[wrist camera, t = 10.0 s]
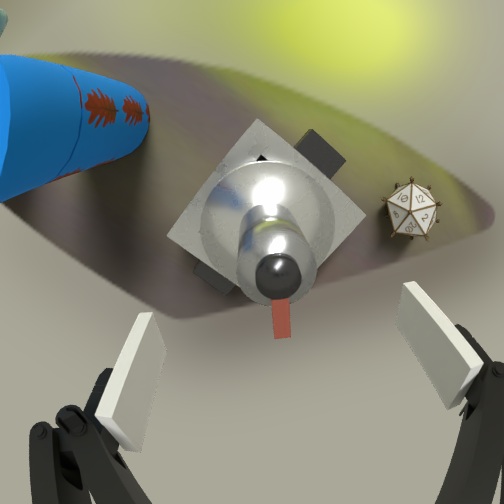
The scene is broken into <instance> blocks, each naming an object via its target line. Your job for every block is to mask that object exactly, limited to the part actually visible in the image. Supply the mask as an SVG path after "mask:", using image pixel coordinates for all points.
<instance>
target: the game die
mask: <svg viewBox="0 0 504 504" xmlns="http://www.w3.org/2000/svg"><path fill="white" fill-rule="evenodd" d="M410 181H411V182H410V183H408V184H405V185H402V186H400V185H399V183H396V187H398V188H397V189H396V190H395V191H394V192H393V193H392V194H391V195H390V196H389V197H388V198H387V199H386V198H384V197H382V198H381V200H382V201H386V204H387V208H388V213H389V214H386V216H385V217H387V218H389V217H390V220H391V224H392V227H393V230H394V232H392V234H391V237H394V235H395V233H398V234H403V235H409V236H410V238H409V239H410V240H412V239H413V236H425V239H426V240H427V241H428V242H429V238H428V236H427V234H428V232H429V230H430V229H431V227H432V226H433V224H434V222H435V221H436V223H439V222H440V221H439V219H436V214H437V206H441V205H442V203H441V202H438V203H436V201H435V200H434V198H433V196H432V195H431V193H430V192H429V190H430V189H431V185H429V186H428V187H427V189H426V188H424V187H422V186H420V185H418V184H416V183H413V181H414V178H413V177H412V176H411V178H410Z"/></svg>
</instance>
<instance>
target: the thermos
mask: <svg viewBox="0 0 504 504" xmlns="http://www.w3.org/2000/svg"><path fill="white" fill-rule="evenodd" d="M149 121H150V116H149V108H148V104H147V103H146V101H145V99H144V97H143V95H142V94H141V93H139V92H138V91H137V90H135V89H134V88H133V87H131V86H129V85H127V84H125V83H122V82H119V81H116V80H113V79H110V78H107V77H104V76H100V75H97V74H94V73H90V72H87V71H83V70H79V69H76V68H72V67H68V66H64V65H59V64H55V63H51V62H47V61H42V60H37V59H32V58H27V57H21V56H16V55H0V203H2V202H4V201H6V200H8V199H10V198H13V197H15V196H17V195H20V194H22V193H24V192H27V191H29V190H32V189H34V188H37V187H39V186H42V185H44V184H47V183H50V182H52V181H55V180H58V179H61V178H63V177H66V176H69V175H72V174H75V173H78V172H81V171H84V170H87V169H90V168H94V167H97V166H100V165H103V164H107V163H110V162H112V161H114V160H117V159H119V158H122V157H124V156H126V155H128V154H130V153H132V152H133V151H134V150H135V149H136V148H137V147H138V146H139V145H140V144H141V143H142V141H143V139H144V137H145V135H146V133H147V131H148V126H149Z"/></svg>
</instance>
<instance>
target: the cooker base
mask: <svg viewBox="0 0 504 504" xmlns="http://www.w3.org/2000/svg"><path fill="white" fill-rule="evenodd" d="M259 160H275V161H281V162H285V163H288V164H291V165H294V166H296V167H298V168H299V169H301V170H303V171H304V172H306V173H307V174H308V175H310V176H311V177H312V178H314V179H315V180H316V181H317V182H318V183H319V184H320V185H321V187H322V188H323V189H324V191H325V192H326V194H327V196H328V198H329V199H330V202H331V205H332V207H333V212H334V216H335V233H334V239H333V242H332V245H331V248H330V250H329V252H328V255H327V256H326V258H325V259H324V261H325V260H326V259H327V258H328V257H329V255H330V254H331V253H332V252H333V251H334V250H335V249H336V248H337V247H338V246H339V245H340V244H341V243H342V242H343V241H344V239H345V238H346V237H347V236H348V235H349V234H350V233H351V232H352V231H353V230H354V228H355V227H356V226H357V225H358V224H359V223H360V222H361V221H362V220H363V219H364V217H365V216H366V215H365V214H364V213H363V212H362V211H361V210H360V209H359V208H358V207H357V206H356V205H355V204H354V203H353V202H352V201H351V200H350V199H349V198H348V197H347V196H346V195H345V194H344V193H343V192H342V191H341V190H340V189H339V188H338V187H337V186H336V185H335V184H334V183H332V182H331V181H330V179H331V178H332V176H333V175H334V174H335V173H336V172H337V171H338V170H339V168H340V167H341V166H342V165H343V164H344V163H345V162H346V160H345V159H344V158H343V157H342V156H341V155H340V154H339V153H338V152H337V151H336V150H335V149H334V148H333V147H332V146H330V145H329V144H328V143H327V142H326V141H325V140H324V139H323V138H322V137H321V136H320V135H318V134H317V133H316V132H315V131H314V130H313V129H309V130H308V131H307V132H306V133H305V135H304V136H303V137H302V138H301V139H300V140H299V141H298V143H297V144H296V145H295V146H294V147H292V146H291V145H289V144H288V143H287V142H286V141H285V140H283V139H282V138H281V137H280V136H279V135H277V134H276V133H275V132H274V131H272V130H271V129H270V128H269V127H267V126H266V125H265V124H264V123H262V122H261V121H260V120H258V119H256V120H255V121H254V122H253V124H252V125H251V126H250V127H249V128H248V130H247V131H246V132H245V133H244V134H243V136H242V137H241V138H240V139H239V140H238V142H237V143H236V144H235V145H234V146H233V148H232V149H231V150H230V151H229V153H228V154H227V155H226V156H225V158H224V159H223V160H222V161H221V163H220V164H219V165H218V167H217V168H216V169H215V170H214V172H213V173H212V174H211V176H210V177H209V178H208V179H207V181H206V182H205V183H204V185H203V186H202V187H201V189H200V190H199V191H198V193H197V194H196V195H195V197H194V198H193V199H192V201H191V202H190V203H189V205H188V206H187V208H186V209H185V210H184V212H183V213H182V214H181V216H180V217H179V219H178V220H177V221H176V223H175V224H174V226H173V227H172V229H171V230H170V231H169V233H168V234H167V237H169V238H170V239H172V240H173V241H174V242H176V243H177V244H179V245H180V246H181V247H183V248H184V249H186V250H187V251H188V252H190V253H191V254H193V255H194V256H195V257H197V258H198V259H200V261H199V262H198V263H197V264H196V266H195V268H194V270H193V273H194V274H195V275H197V276H198V277H200V278H201V279H203V280H204V281H206V282H207V283H209V284H210V285H212V286H213V287H215V288H216V289H218V290H219V291H221V292H222V293H224V294H225V295H227V294H228V293H229V292H230V291H231V290H232V289H233V288H234V287H235V285H237V286H239V285H238V284H236V283H234V282H232V281H231V280H229V279H227V278H226V277H225V276H223V275H222V274H221V273H220V272H219V271H218V270H217V269H216V268H215V267H214V266H213V264H212V263H211V262H210V260H209V258H208V257H207V255H206V253H205V250H204V248H203V245H202V241H201V235H200V220H201V214H202V210H203V207H204V204H205V202H206V200H207V198H208V196H209V194H210V193H211V191H212V190H213V188H214V187H215V185H216V184H217V183H218V182H219V181H220V179H221V178H223V177H224V176H225V175H226V174H227V173H229V172H230V171H232V170H233V169H235V168H237V167H239V166H241V165H243V164H246V163H250V162H254V161H259ZM324 261H323V262H324ZM239 287H240V286H239ZM269 307H270V308H272V306H269Z"/></svg>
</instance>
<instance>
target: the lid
mask: <svg viewBox="0 0 504 504" xmlns="http://www.w3.org/2000/svg"><path fill="white" fill-rule="evenodd" d="M334 233H335V216H334V212H333V207H332V205H331V202H330V199H329V198H328V196H327V194H326V192H325V191H324V189H323V188H322V187H321V185H320V184H319V183H318V182H317V181H316V180H315V179H314V178H312V177H311V176H310V175H308V174H307V173H306V172H304V171H303V170H301V169H299V168H298V167H296V166H294V165H291V164H288V163H285V162H281V161H275V160H259V161H254V162H250V163H246V164H243V165H241V166H239V167H237V168H235V169H233V170H232V171H230V172H229V173H227V174H226V175H225V176H224V177H223V178H221V179H220V181H219V182H218V183H217V184H216V185H215V187H214V188H213V190H212V191H211V193H210V194H209V196H208V198H207V200H206V202H205V204H204V207H203V210H202V214H201V220H200V235H201V241H202V245H203V248H204V250H205V253H206V255H207V257H208V258H209V260H210V262H211V263H212V264H213V266H214V267H215V268H216V269H217V270H218V271H219V272H220V273H221V274H222V275H223V276H225V277H226V278H227V279H229V280H231V281H232V282H234V283H236V284H238V285H239V286H240V288H241V290H242V291H243V292H244V294H245V295H246V296H247V297H248V298H250V299H251V300H253V301H254V302H256V303H259V304H261V305H265V306H272V317H273V329H274V337H275V339H279V338H287V337H291V329H290V308H289V304H291V303H294V302H296V301H297V300H299V299H301V298H302V297H303V296H304V295H306V294H307V293H308V291H309V290H310V289H311V287H312V286H313V284H314V282H315V279H316V275H317V268H318V267H319V266H320V265H321V264H322V263H323V261H324V259H325V258H326V256H327V255H328V252H329V250H330V248H331V245H332V242H333V239H334Z"/></svg>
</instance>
